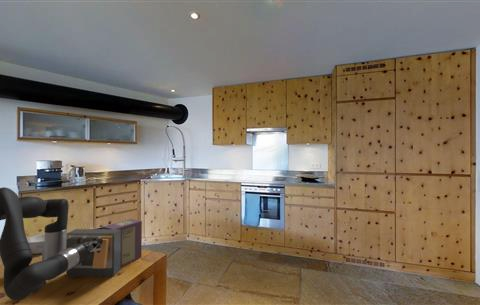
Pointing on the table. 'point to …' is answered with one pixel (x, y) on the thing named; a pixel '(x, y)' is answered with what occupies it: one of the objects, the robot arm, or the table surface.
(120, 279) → the table surface
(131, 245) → the box
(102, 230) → the box
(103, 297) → the table surface
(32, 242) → the paper bowls
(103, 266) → the panel
